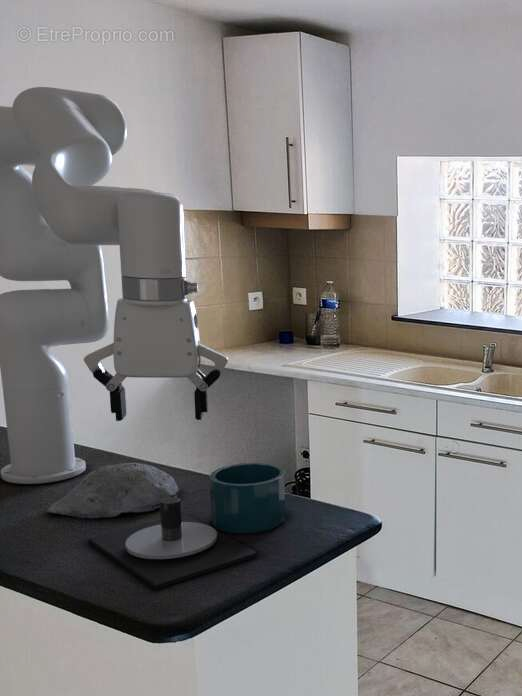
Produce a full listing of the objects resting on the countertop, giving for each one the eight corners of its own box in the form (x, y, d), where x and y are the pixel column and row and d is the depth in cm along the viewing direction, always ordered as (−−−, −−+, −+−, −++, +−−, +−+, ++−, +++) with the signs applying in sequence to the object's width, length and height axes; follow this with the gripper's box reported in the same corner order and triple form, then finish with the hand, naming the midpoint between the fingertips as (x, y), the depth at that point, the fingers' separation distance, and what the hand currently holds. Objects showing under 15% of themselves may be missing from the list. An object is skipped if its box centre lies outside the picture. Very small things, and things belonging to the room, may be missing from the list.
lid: (134, 532, 114) (131, 488, 113) (220, 527, 118) (219, 484, 116) (117, 566, 103) (113, 518, 102) (213, 560, 107) (211, 513, 105)
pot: (215, 509, 126) (213, 464, 124) (285, 505, 129) (284, 461, 127) (208, 535, 116) (206, 486, 114) (285, 531, 119) (283, 483, 117)
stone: (116, 458, 137) (191, 445, 133) (128, 500, 138) (202, 489, 134) (33, 485, 120) (116, 472, 116) (46, 533, 121) (129, 522, 117)
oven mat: (88, 542, 112) (88, 538, 111) (185, 517, 122) (185, 513, 122) (156, 589, 99) (156, 585, 99) (257, 556, 110) (257, 552, 110)
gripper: (228, 289, 109) (231, 410, 113) (86, 284, 104) (95, 411, 108) (223, 296, 102) (227, 424, 106) (71, 291, 97) (81, 426, 101)
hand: (160, 417), depth 107 cm, fingers open, 9 cm apart
